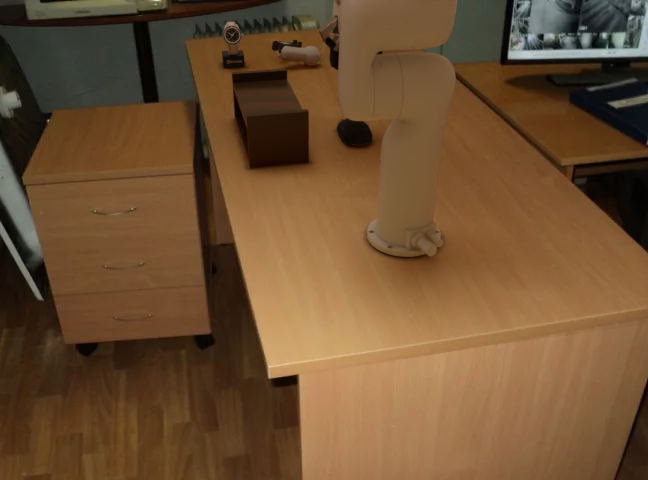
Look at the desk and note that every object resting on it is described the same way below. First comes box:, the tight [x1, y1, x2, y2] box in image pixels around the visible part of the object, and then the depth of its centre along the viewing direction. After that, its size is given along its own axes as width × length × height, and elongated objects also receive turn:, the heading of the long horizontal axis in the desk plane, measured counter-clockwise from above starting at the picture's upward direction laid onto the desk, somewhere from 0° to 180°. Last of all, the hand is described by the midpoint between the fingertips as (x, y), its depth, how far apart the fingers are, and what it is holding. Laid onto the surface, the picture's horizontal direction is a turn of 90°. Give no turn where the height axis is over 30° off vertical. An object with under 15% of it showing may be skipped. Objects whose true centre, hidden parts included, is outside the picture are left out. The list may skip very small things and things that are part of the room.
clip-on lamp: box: [271, 39, 326, 67], centre depth 195 cm, size 12×6×18 cm
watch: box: [221, 21, 246, 69], centre depth 190 cm, size 6×8×11 cm
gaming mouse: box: [336, 118, 373, 147], centre depth 158 cm, size 6×15×4 cm, turn 16°
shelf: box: [231, 67, 310, 169], centre depth 153 cm, size 24×12×11 cm, turn 13°
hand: (356, 64), depth 150 cm, fingers open, 9 cm apart
